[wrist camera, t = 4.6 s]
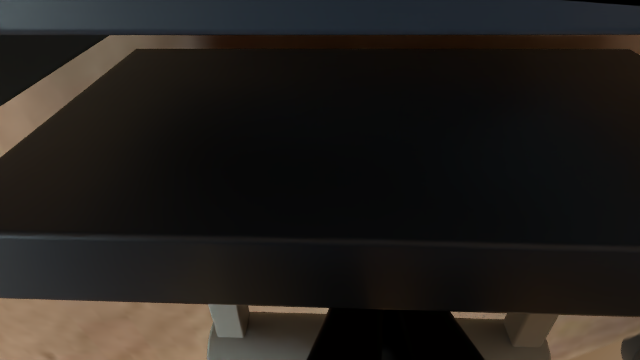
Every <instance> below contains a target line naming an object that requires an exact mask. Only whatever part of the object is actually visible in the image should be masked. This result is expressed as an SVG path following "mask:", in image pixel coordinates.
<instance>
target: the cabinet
mask: <svg viewBox="0 0 640 360" xmlns="http://www.w3.org/2000/svg"><path fill="white" fill-rule="evenodd" d="M0 35H640V0H0Z"/></svg>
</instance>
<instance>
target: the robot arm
mask: <svg viewBox="0 0 640 360" xmlns="http://www.w3.org/2000/svg"><path fill="white" fill-rule="evenodd" d="M381 359H382V360H485V359H484V358H483V356H482V355H481V353H480V352H479V351H478V349H477V348H476V347H475V345H474V344H473V342H472V341H471V340H470V338H469V337H468V336H467V334H466V333H465V331H464V330H463V329H462V327H461V326H460V325H459V323H458V322H457V320H456V319H455V318H454V316H453V315H452V314H451V312H450V311H419V310H385V309H351V308H329V310H328V312H327V315H326V317H325V319H324V321H323V324H322V326H321V328H320V330H319V333H318V335H317V337H316V339H315V341H314V344H313V346H312V348H311V350H310V353H309V355H308V357H307V359H306V360H381Z"/></svg>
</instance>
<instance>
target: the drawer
mask: <svg viewBox="0 0 640 360" xmlns="http://www.w3.org/2000/svg"><path fill="white" fill-rule="evenodd" d="M108 36H109V35H0V106H1V105H3V104H5V103H6V102H8V101H9V100H11V99H12V98H14V97H15V96H17V95H18V94H20V93H21V92H23V91H25V90H26V89H28V88H29V87H31V86H32V85H34V84H35V83H37V82H38V81H40V80H41V79H43V78H44V77H46V76H48V75H49V74H51V73H52V72H54V71H55V70H57V69H58V68H60V67H61V66H63V65H64V64H66V63H68V62H69V61H71V60H72V59H74V58H75V57H77V56H78V55H80V54H81V53H83V52H84V51H86V50H88V49H89V48H91V47H92V46H94V45H95V44H97V43H98V42H100V41H101V40H103V39H104V38H106V37H108ZM0 298H15V299H49V300H82V301H116V302H150V303H183V304H208V305H209V309H210V312H211V316H212V319H213V324H212V327H211V330H210V335H209V341H208V349H207V360H306V359H307V357H308V355H309V353H310V350H311V348H312V346H313V344H314V341H315V339H316V337H317V335H318V333H319V330H320V328H321V326H322V324H323V321H324V319H325V317H326V315H327V314H307V313H274V312H249V308H248V305H251V306H284V307H318V308H351V309H385V310H419V311H452V312H486V313H507V315H506V317H505V320H504V319H471V318H455V319H456V320H457V322H458V323H459V325H460V326H461V327H462V329H463V330H464V331H465V333H466V334H467V336H468V337H469V338H470V340H471V341H472V342H473V344H474V345H475V347H476V348H477V349H478V351H479V352H480V353H481V355H482V356H483V358H484V359H485V360H551V356H550V351H549V347H548V343H547V340H546V337H547V335H548V334H549V332H550V330H551V328H552V326H553V324H554V323H555V321H556V319H557V317H558V315H587V316H620V317H640V55H639V54H637V53H635V52H633V51H632V50H630V49H136V50H134V51H133V52H132V53H130V54H129V55H128V56H127V57H125V58H124V59H123V60H122V61H120V62H119V63H118V64H117V65H115V66H114V67H113V68H112V69H110V70H109V71H108V72H107V73H105V74H104V75H103V76H102V77H100V78H99V79H98V80H97V81H95V82H94V83H93V84H92V85H90V86H89V87H88V88H87V89H85V90H84V91H83V92H82V93H80V94H79V95H78V96H77V97H75V98H74V99H73V100H72V101H70V102H69V103H68V104H67V105H65V106H64V107H63V108H62V109H60V110H59V111H58V112H57V113H55V114H54V115H53V116H52V117H50V118H49V119H48V120H47V121H45V122H44V123H43V124H42V125H40V126H39V127H38V128H37V129H35V130H34V131H33V132H32V133H30V134H29V135H28V136H27V137H25V138H24V139H23V140H22V141H20V142H19V143H18V144H17V145H15V146H14V147H13V148H12V149H10V150H9V151H8V152H7V153H5V154H4V155H3V156H2V157H0ZM381 360H382V359H381Z"/></svg>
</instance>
